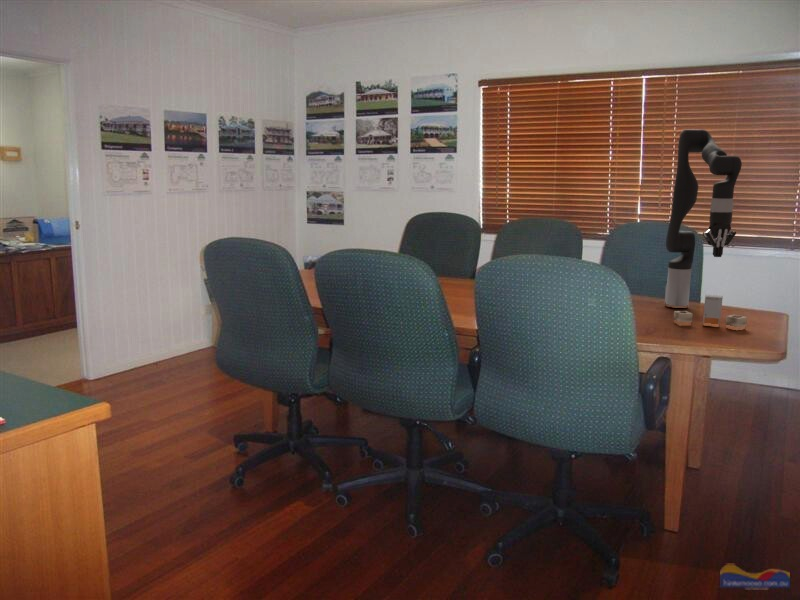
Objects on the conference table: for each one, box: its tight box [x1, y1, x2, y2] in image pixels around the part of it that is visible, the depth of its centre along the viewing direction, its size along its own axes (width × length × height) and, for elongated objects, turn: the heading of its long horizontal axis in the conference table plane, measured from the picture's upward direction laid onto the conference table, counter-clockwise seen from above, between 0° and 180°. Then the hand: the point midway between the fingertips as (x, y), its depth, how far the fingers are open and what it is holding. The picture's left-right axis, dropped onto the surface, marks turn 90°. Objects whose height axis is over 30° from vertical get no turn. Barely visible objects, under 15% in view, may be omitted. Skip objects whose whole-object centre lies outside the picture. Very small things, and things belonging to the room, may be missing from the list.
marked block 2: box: [725, 314, 748, 327], centre depth 252 cm, size 5×5×5 cm
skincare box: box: [702, 294, 724, 325], centre depth 256 cm, size 6×4×12 cm
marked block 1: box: [673, 310, 693, 323], centre depth 260 cm, size 5×5×5 cm
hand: (717, 256), depth 252 cm, fingers closed
